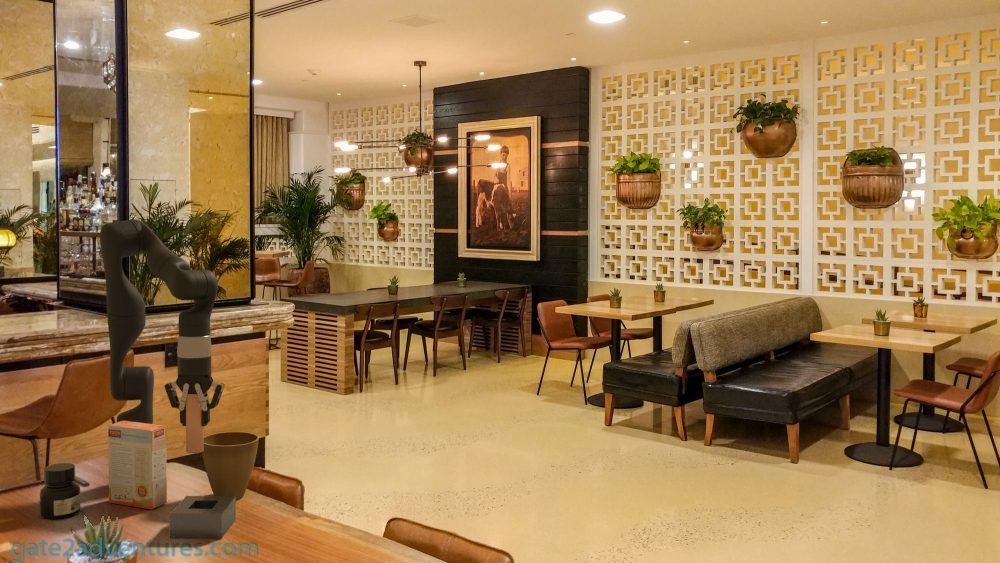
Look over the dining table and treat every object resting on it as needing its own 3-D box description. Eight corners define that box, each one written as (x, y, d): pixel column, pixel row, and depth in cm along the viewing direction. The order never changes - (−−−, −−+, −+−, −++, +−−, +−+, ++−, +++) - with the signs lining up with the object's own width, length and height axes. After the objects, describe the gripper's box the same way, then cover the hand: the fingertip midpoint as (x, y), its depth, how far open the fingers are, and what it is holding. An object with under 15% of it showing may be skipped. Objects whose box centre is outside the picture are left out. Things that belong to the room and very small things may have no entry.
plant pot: (257, 504, 218) (257, 444, 217) (197, 507, 214) (197, 447, 213) (259, 485, 232) (260, 429, 231) (203, 488, 229) (203, 431, 227)
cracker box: (168, 503, 217) (167, 424, 215) (151, 511, 211) (150, 430, 209) (125, 496, 221) (124, 419, 220) (107, 503, 216) (107, 424, 214)
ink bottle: (62, 522, 202) (61, 474, 201) (30, 519, 204) (29, 471, 203) (89, 508, 211) (88, 462, 210) (59, 505, 213) (58, 459, 212)
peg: (189, 448, 200) (189, 391, 199) (206, 448, 200) (205, 391, 199) (183, 453, 196) (183, 394, 195) (200, 453, 196) (200, 395, 195)
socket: (186, 519, 206) (186, 495, 206) (235, 519, 207) (235, 496, 206) (169, 538, 194) (169, 513, 194) (221, 538, 195) (221, 513, 194)
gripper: (229, 352, 200) (229, 422, 201) (170, 351, 200) (170, 421, 201) (219, 357, 193) (220, 430, 194) (158, 356, 192) (158, 429, 194)
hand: (194, 425), depth 197 cm, fingers closed on peg, 4 cm apart
